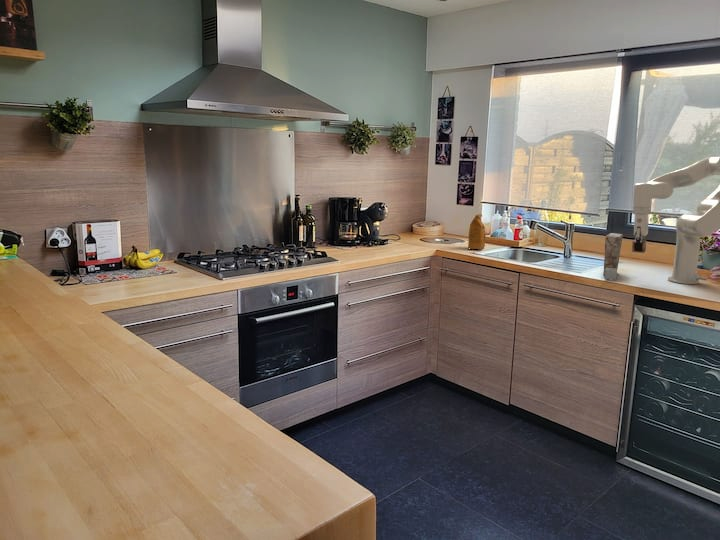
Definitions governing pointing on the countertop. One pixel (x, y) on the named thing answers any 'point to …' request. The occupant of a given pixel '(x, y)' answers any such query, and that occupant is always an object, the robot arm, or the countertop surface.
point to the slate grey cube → (610, 273)
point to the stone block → (612, 250)
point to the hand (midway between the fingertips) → (638, 249)
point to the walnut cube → (642, 246)
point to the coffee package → (477, 234)
